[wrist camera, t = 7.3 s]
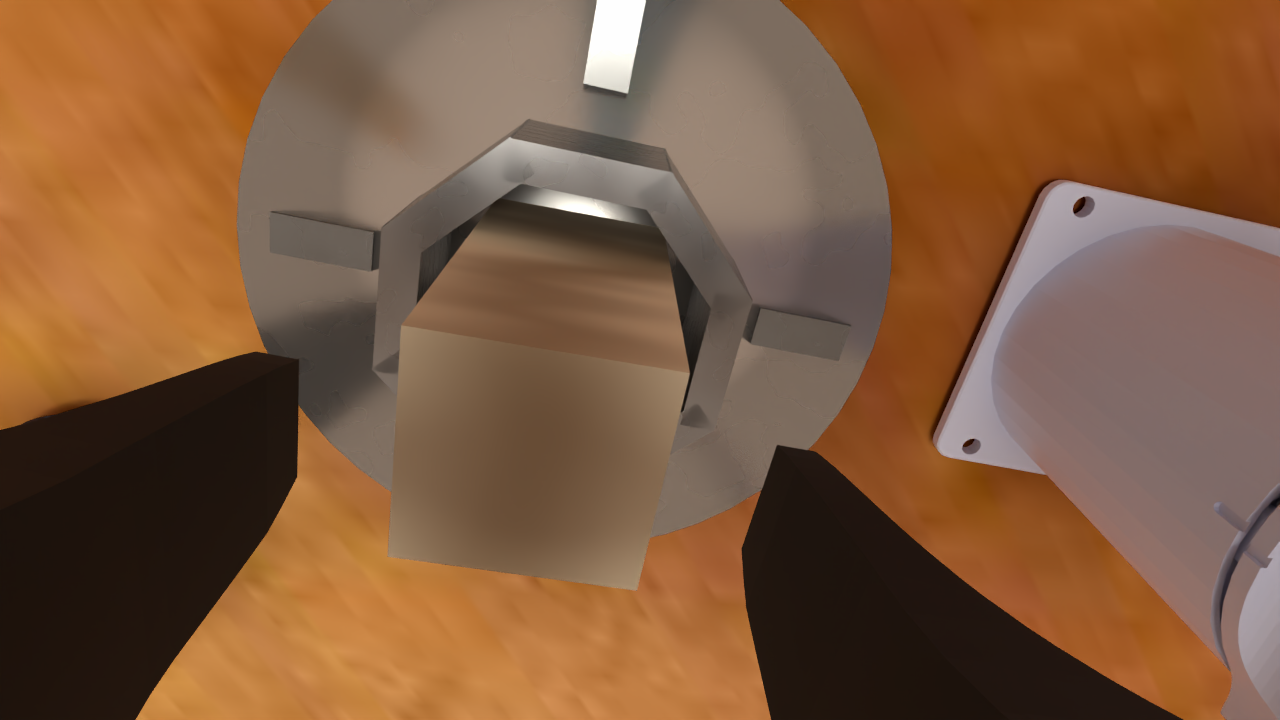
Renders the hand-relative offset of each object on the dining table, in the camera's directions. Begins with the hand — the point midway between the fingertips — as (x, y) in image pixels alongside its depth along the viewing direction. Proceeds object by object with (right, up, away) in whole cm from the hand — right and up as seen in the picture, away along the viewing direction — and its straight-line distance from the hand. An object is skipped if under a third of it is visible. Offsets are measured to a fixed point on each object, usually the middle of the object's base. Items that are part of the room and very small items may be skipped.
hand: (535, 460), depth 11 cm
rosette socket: (0, +4, +8) cm, 9 cm away
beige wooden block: (0, +3, +7) cm, 8 cm away
